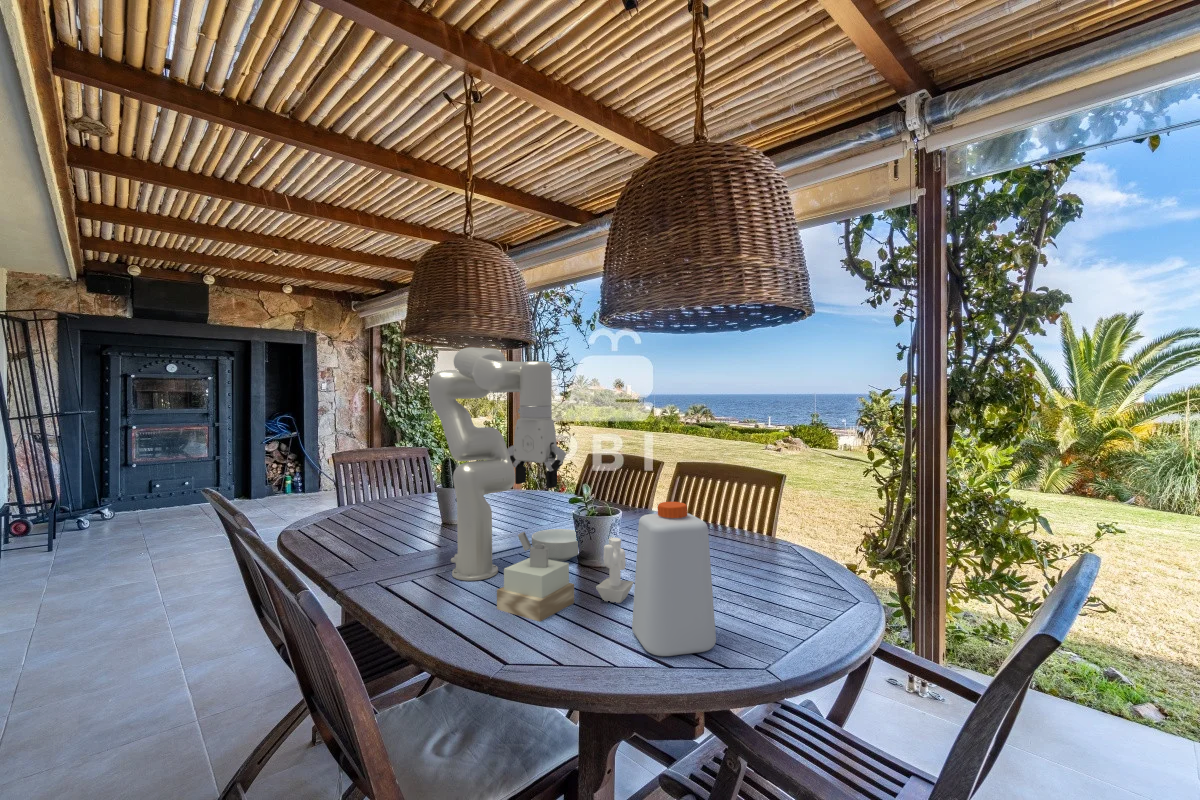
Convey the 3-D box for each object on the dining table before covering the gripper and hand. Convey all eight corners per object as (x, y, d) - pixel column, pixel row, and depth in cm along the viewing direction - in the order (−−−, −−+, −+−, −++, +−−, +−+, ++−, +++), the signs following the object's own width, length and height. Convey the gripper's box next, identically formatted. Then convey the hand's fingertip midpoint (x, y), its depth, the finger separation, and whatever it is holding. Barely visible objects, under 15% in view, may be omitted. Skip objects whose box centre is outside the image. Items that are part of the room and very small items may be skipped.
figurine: (635, 594, 139) (635, 535, 139) (621, 608, 130) (621, 544, 130) (609, 590, 142) (608, 532, 142) (593, 603, 133) (593, 541, 133)
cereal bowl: (578, 567, 161) (578, 543, 160) (524, 564, 164) (523, 540, 164) (591, 551, 177) (591, 529, 177) (541, 548, 180) (541, 527, 180)
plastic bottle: (649, 661, 105) (649, 514, 104) (627, 628, 119) (626, 499, 119) (723, 652, 108) (723, 509, 108) (692, 621, 123) (692, 495, 122)
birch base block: (497, 610, 130) (496, 589, 130) (533, 593, 141) (533, 574, 141) (539, 623, 123) (539, 601, 123) (574, 604, 134) (574, 583, 134)
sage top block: (504, 590, 130) (503, 568, 130) (532, 576, 140) (532, 556, 139) (542, 598, 124) (541, 576, 124) (568, 583, 134) (568, 563, 134)
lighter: (548, 565, 132) (548, 532, 132) (546, 567, 130) (546, 533, 130) (519, 564, 133) (519, 531, 133) (517, 566, 131) (517, 532, 131)
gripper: (498, 413, 133) (498, 484, 134) (553, 415, 123) (554, 491, 124) (519, 412, 139) (519, 479, 140) (574, 413, 130) (574, 486, 130)
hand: (535, 485), depth 132 cm, fingers open, 9 cm apart
